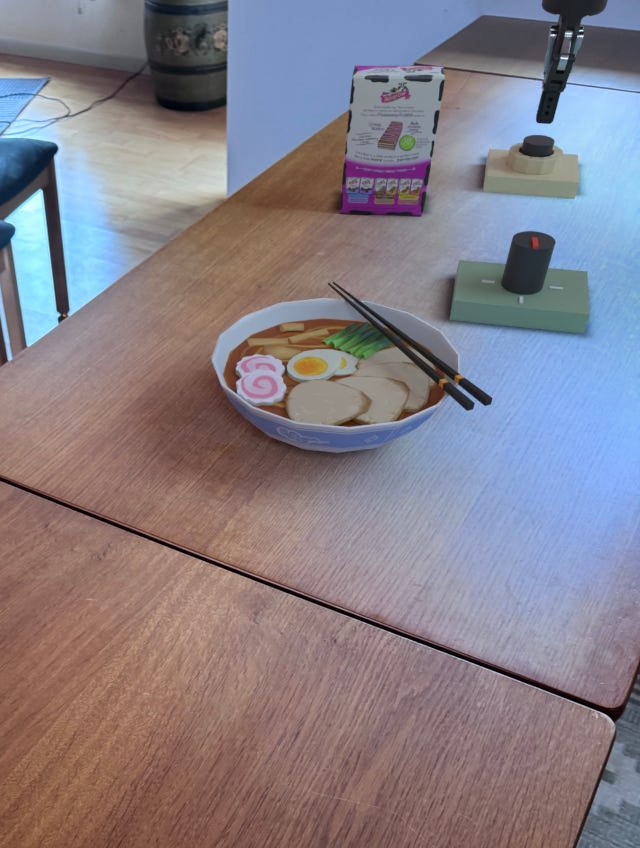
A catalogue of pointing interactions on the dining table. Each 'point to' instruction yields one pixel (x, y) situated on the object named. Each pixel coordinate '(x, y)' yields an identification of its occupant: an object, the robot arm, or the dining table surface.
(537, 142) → the button
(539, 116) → the robot arm
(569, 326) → the panel
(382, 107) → the candy bar box
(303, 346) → the ramen bowl
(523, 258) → the knob
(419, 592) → the dining table surface
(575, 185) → the housing
